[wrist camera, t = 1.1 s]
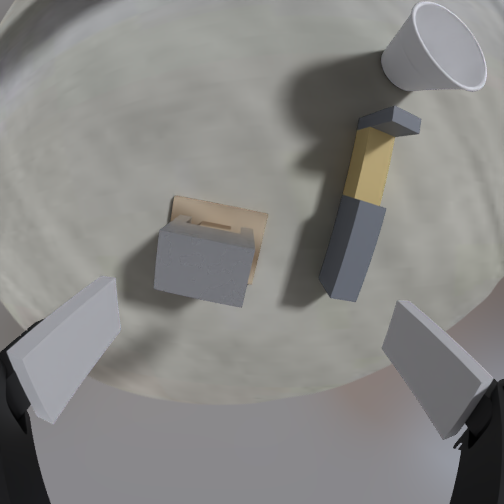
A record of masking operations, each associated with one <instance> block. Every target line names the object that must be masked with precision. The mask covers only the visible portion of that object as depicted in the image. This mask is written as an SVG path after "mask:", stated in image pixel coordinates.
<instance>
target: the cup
mask: <svg viewBox="0 0 504 504" xmlns="http://www.w3.org/2000/svg"><path fill="white" fill-rule="evenodd" d="M381 64H382V68H383V70H384V72H385V74H386V76H387V77H388V79H389V80H390V81H391V82H392V83H393V84H394V85H395V86H397V87H398V88H400V89H402V90H405V91H421V90H437V89H438V90H440V89H464V90H466V91H471V92H473V91H478V90H480V89H481V88H482V87H483V86H484V84H485V82H486V78H487V68H486V62H485V58H484V55H483V53H482V50H481V48H480V46H479V44H478V42H477V40H476V38H475V37H474V35H473V34H472V32H471V31H470V30H469V28H468V27H467V26H466V25H465V24H464V23H463V22H462V21H461V20H460V19H459V18H458V17H457V16H456V15H455V14H454V13H452V12H451V11H450V10H448V9H447V8H445V7H443V6H441V5H439V4H437V3H433V2H428V1H423V2H419V3H417V4H415V5H414V7H413V8H412V12H411V15H410V16H409V17H408V19H407V20H406V22H405V23H404V24H403V26H402V27H401V29H400V30H399V31H398V33H397V34H396V35H395V37H394V38H393V40H392V41H391V42H390V44H389V45H388V46H387V48H386V49H385V50H384V52H383V53H382V56H381Z"/></svg>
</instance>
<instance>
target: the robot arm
mask: <svg viewBox="0 0 504 504" xmlns="http://www.w3.org/2000/svg"><path fill="white" fill-rule="evenodd" d="M120 331H121V325H120V317H119V309H118V300H117V289H116V278H115V277H108V276H100V277H99V278H98V279H96V280H95V281H94V282H92V283H91V284H89V285H88V286H87V287H85V288H84V289H83V290H81V291H80V292H79V293H77V294H76V295H75V296H73V297H72V298H71V299H69V300H68V301H67V302H66V303H64V304H63V305H62V306H60V307H59V308H58V309H57V310H55V311H54V312H53V313H52V314H50V315H49V316H48V317H47V318H45V319H42V320H40V321H38V322H36V323H34V324H33V325H32V326H31V327H29V328H28V330H27V331H25V332H23V333H22V334H21V336H19V337H17V338H16V339H15V340H14V341H13V342H11V343H10V344H9V345H8V346H7V347H6V348H5V349H4V350H2V351H1V352H0V504H51V503H50V500H49V497H48V494H47V491H46V488H45V485H44V482H43V479H42V475H41V471H40V467H39V464H38V460H37V455H36V450H35V446H34V440H33V435H32V429H31V422H30V417H29V414H28V412H27V409H28V407H29V406H30V405H31V406H32V408H33V410H34V411H35V413H36V415H37V416H38V417H39V418H41V419H43V420H45V421H47V422H49V423H51V424H54V423H55V421H56V420H57V418H58V417H59V415H60V414H61V412H62V411H63V409H64V408H65V406H66V405H67V403H68V402H69V400H70V399H71V398H72V396H73V395H74V393H75V392H76V390H77V389H78V388H79V386H80V384H81V383H82V382H83V380H84V379H85V378H86V376H87V375H88V374H89V372H90V371H91V369H92V368H93V367H94V365H95V364H96V363H97V361H98V360H99V359H100V357H101V356H102V354H103V353H104V352H105V350H106V349H107V348H108V347H109V345H110V344H111V343H112V341H113V340H114V339H115V337H116V336H117V335H118V333H119V332H120ZM382 350H383V351H384V352H385V354H386V355H387V357H388V358H389V359H390V361H391V362H392V364H393V365H394V366H395V368H396V369H397V371H398V372H399V373H400V375H401V377H402V378H403V379H404V381H405V382H406V384H407V385H408V387H409V388H410V390H411V391H412V393H413V394H414V395H415V397H416V399H417V400H418V401H419V403H420V405H421V406H422V408H423V409H424V411H425V412H426V414H427V415H428V417H429V418H430V420H431V422H432V423H433V425H434V426H435V428H436V429H437V431H438V433H439V434H440V436H441V437H442V439H443V440H444V439H447V438H449V437H451V436H454V435H456V434H457V433H458V431H459V430H460V429H461V427H462V426H463V425H464V424H466V425H467V427H468V428H467V430H466V431H465V432H464V433H463V435H462V436H461V437H460V438H459V440H458V441H457V442H456V443H455V445H454V447H453V448H454V449H455V448H456V447H457V446H458V445H459V444H460V443H462V445H461V446H460V448H459V450H461V456H460V462H459V467H458V472H457V476H456V481H455V485H454V489H453V493H452V497H451V500H450V504H504V379H502V380H500V381H499V382H497V381H496V380H495V379H494V378H493V377H492V376H491V375H490V374H489V373H488V372H487V371H486V370H485V369H484V368H483V367H482V366H481V365H480V364H479V363H478V362H477V361H476V360H475V359H474V358H473V357H472V356H471V355H470V354H469V353H468V352H467V351H465V350H464V349H463V348H462V347H461V346H460V345H459V344H458V343H457V342H456V341H455V340H454V339H453V338H451V337H450V336H449V335H448V334H447V333H446V332H445V331H444V330H443V329H441V328H440V327H439V326H438V325H437V324H436V323H435V322H434V321H432V320H431V319H430V318H429V317H428V316H427V315H426V314H424V313H423V312H422V311H421V310H420V309H419V308H417V307H416V306H415V305H414V304H413V303H411V302H410V301H409V300H397V302H396V306H395V309H394V313H393V316H392V319H391V322H390V325H389V328H388V331H387V334H386V337H385V340H384V343H383V346H382Z"/></svg>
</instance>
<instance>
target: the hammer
mask: <svg viewBox="0 0 504 504" xmlns="http://www.w3.org/2000/svg"><path fill="white" fill-rule="evenodd" d="M420 125H421V119H420V118H418V117H417V116H415V115H413V114H411V113H409V112H407V111H405V110H403V109H401V108H399V107H397V106H395V105H394V106H392V107H389V108H386V109H383V110H380V111H378V112H375V113H372V114H370V115H367V116H364V117H362V118H359V123H358V128H357V133H356V138H355V143H354V147H353V152H352V157H351V161H350V166H349V170H348V174H347V178H346V183H345V187H344V191H343V195H342V199H341V203H340V206H339V210H338V214H337V218H336V221H335V225H334V229H333V232H332V236H331V239H330V243H329V246H328V249H327V253H326V256H325V259H324V263H323V266H322V269H321V272H320V275H319V280H320V282H321V283H322V285H323V287H324V288H325V290H326V292H327V293H328V295H329V297H330V298H334V299H340V300H346V301H352V302H356V300H357V298H358V295H359V292H360V290H361V287H362V284H363V282H364V279H365V276H366V273H367V270H368V267H369V264H370V262H371V259H372V255H373V252H374V249H375V246H376V243H377V240H378V236H379V233H380V230H381V226H382V223H383V219H384V216H385V212H386V208H383V207H381V206H380V203H381V199H382V195H383V191H384V187H385V183H386V179H387V174H388V170H389V165H390V160H391V155H392V150H393V145H394V140H395V137H399V136H407V135H414V134H419V132H420Z"/></svg>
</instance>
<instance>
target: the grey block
mask: <svg viewBox="0 0 504 504" xmlns="http://www.w3.org/2000/svg"><path fill="white" fill-rule="evenodd" d="M191 220H192V217H191V216H186V215H179V216H178V217H177V218H175V219H174V220H172V221H171V222H170V223H168V224H167V225H166V226H164V227H163V228H162V229H160V230H159V238H158V247H157V256H156V266H155V278H154V289H156V290H160V291H165V292H169V293H173V294H178V295H182V296H187V297H191V298H196V299H201V300H206V301H210V302H215V303H220V304H225V305H231V306H236V307H241V308H242V305H243V300H244V296H245V292H246V287H247V283H248V279H249V275H250V270H251V266H252V262H253V257H254V253H255V242H254V233H253V229H250V228H246V227H241V230H240V234H239V233H235V232H230V231H225V230H220V229H215V228H210V227H205V226H200V225H195V224H191Z"/></svg>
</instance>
